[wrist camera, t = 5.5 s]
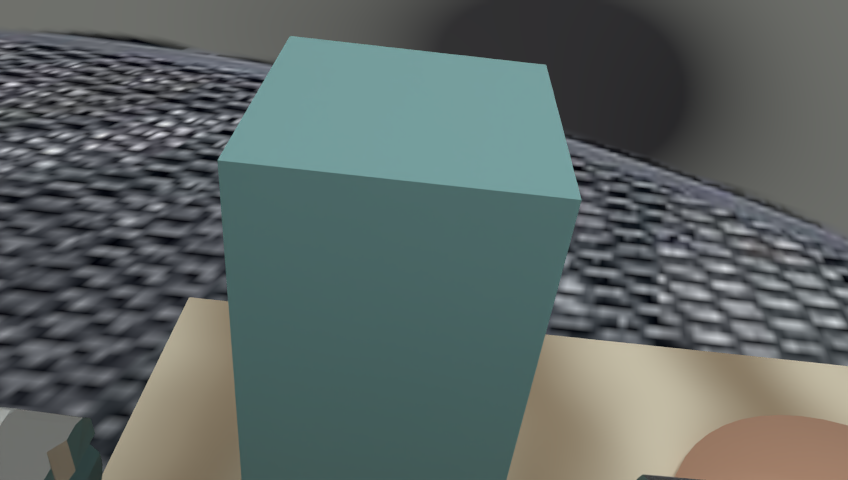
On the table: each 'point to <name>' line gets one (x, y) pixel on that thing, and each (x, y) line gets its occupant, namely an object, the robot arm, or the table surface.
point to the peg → (391, 260)
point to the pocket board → (543, 418)
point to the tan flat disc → (770, 450)
